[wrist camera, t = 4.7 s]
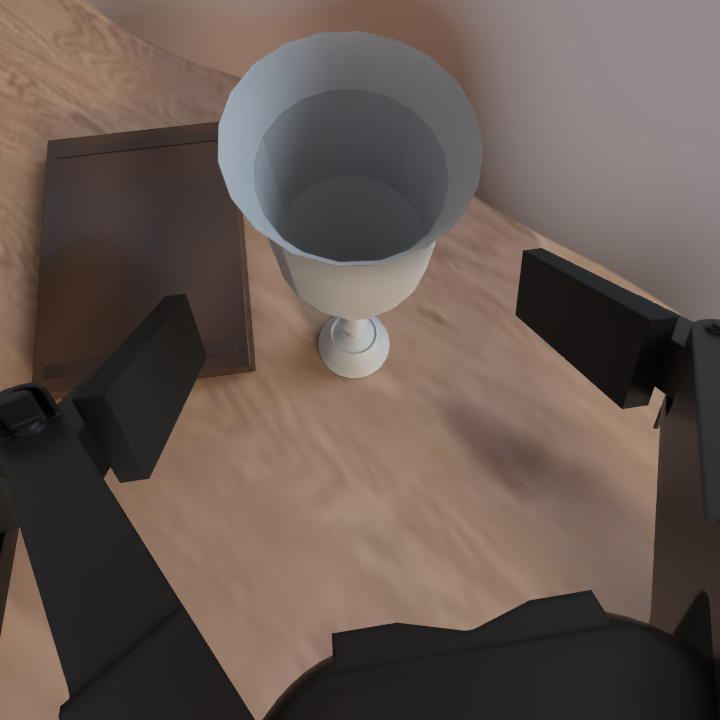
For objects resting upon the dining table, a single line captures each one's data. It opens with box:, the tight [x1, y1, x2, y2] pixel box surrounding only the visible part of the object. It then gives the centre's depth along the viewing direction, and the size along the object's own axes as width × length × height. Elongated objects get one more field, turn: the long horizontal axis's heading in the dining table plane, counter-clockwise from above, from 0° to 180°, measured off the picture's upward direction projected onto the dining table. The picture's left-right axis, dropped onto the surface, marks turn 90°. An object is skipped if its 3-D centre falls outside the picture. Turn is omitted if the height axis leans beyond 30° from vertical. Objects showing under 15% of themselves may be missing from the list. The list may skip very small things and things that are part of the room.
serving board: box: [32, 122, 256, 399], centre depth 28 cm, size 14×20×2 cm
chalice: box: [218, 31, 484, 378], centre depth 19 cm, size 7×7×18 cm
